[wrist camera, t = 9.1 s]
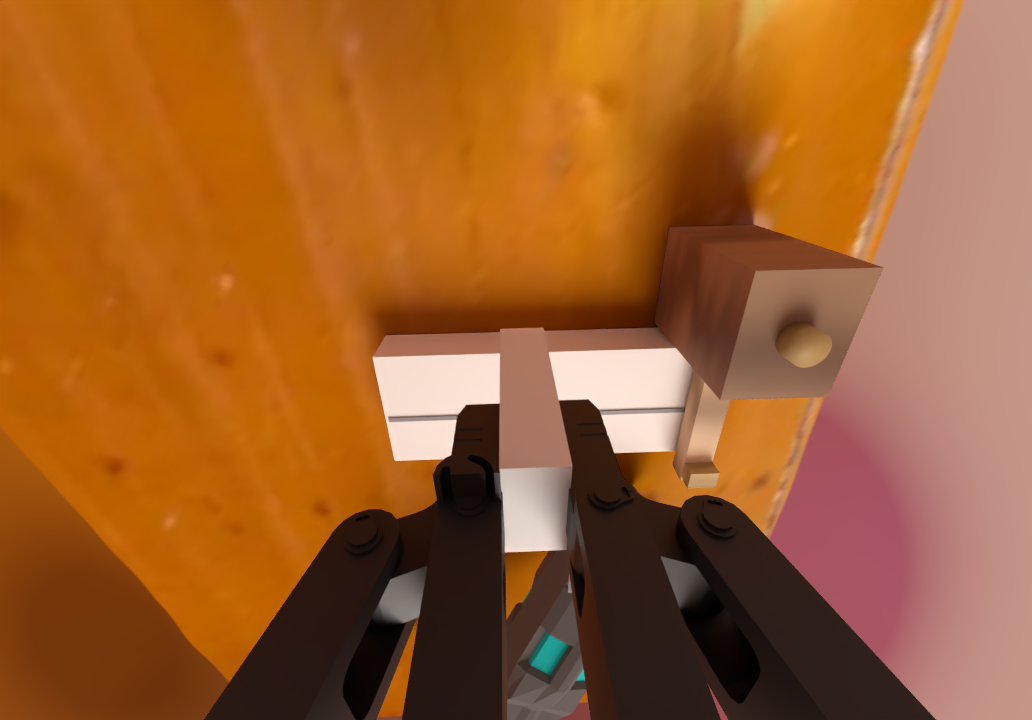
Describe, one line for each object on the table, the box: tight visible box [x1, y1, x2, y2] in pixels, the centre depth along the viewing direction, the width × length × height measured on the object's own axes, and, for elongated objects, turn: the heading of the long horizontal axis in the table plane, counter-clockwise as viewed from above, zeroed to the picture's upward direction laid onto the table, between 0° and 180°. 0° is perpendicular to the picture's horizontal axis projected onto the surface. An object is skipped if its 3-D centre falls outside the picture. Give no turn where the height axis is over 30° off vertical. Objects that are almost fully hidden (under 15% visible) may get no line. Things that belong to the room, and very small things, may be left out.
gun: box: [506, 481, 642, 720], centre depth 35 cm, size 7×29×15 cm, turn 148°
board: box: [373, 327, 694, 461], centre depth 27 cm, size 8×22×3 cm, turn 91°
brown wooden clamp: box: [654, 225, 883, 488], centre depth 23 cm, size 15×5×10 cm, turn 1°
